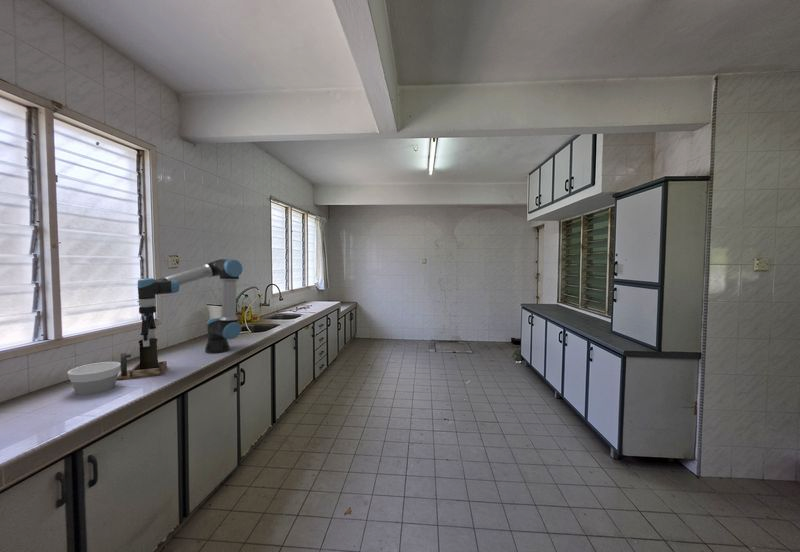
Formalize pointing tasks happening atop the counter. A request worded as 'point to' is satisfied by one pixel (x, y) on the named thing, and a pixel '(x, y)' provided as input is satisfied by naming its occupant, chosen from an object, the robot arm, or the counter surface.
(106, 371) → the bowl
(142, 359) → the container
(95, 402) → the counter surface
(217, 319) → the robot arm
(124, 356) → the hook shelf
